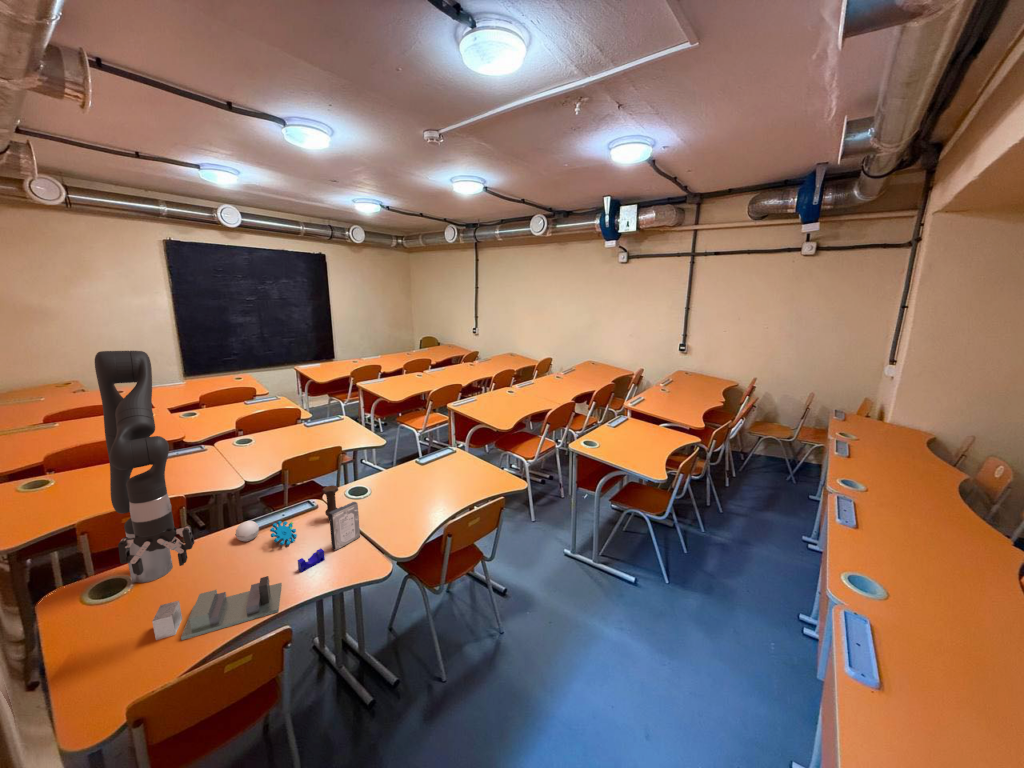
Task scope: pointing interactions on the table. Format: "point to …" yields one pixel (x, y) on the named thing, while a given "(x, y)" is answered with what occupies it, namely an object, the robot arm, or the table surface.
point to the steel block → (167, 620)
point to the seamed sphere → (247, 531)
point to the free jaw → (258, 595)
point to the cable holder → (311, 561)
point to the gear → (283, 532)
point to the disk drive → (344, 525)
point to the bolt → (330, 498)
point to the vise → (226, 611)
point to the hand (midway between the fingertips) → (162, 568)
